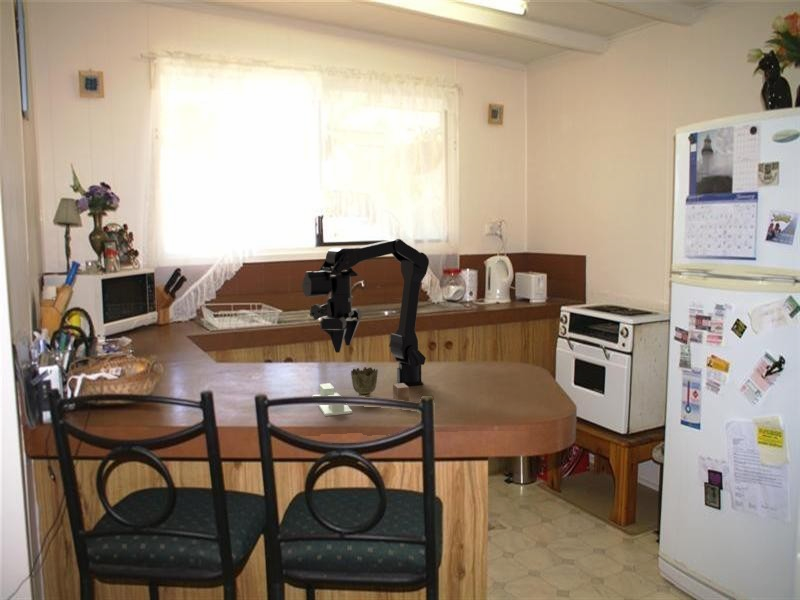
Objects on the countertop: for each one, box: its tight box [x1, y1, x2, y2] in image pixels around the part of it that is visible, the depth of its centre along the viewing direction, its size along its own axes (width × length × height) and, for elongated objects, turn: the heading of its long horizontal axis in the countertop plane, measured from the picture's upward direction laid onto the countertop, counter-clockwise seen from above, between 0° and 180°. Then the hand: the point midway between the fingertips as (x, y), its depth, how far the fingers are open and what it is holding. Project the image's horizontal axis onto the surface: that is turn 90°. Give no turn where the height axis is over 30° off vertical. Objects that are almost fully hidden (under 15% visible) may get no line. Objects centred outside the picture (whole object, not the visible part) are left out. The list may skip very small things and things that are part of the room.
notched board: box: [312, 382, 353, 417], centre depth 170 cm, size 7×18×4 cm, turn 18°
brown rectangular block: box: [392, 382, 410, 402], centre depth 170 cm, size 3×4×5 cm, turn 18°
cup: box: [350, 366, 379, 397], centre depth 175 cm, size 8×7×8 cm
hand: (342, 348), depth 177 cm, fingers open, 9 cm apart
